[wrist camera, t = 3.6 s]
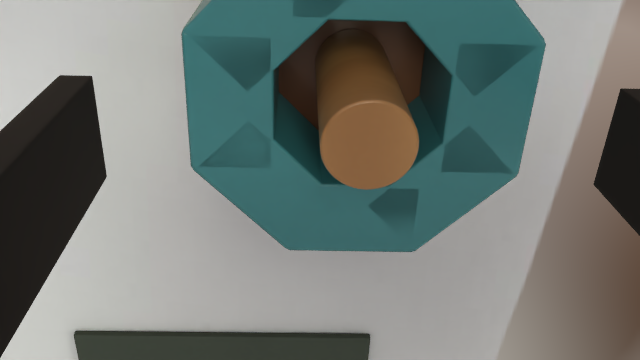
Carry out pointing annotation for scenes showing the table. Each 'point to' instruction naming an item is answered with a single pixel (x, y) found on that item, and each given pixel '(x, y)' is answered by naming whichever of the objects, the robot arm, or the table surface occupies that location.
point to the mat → (219, 346)
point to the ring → (303, 138)
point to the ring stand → (359, 97)
